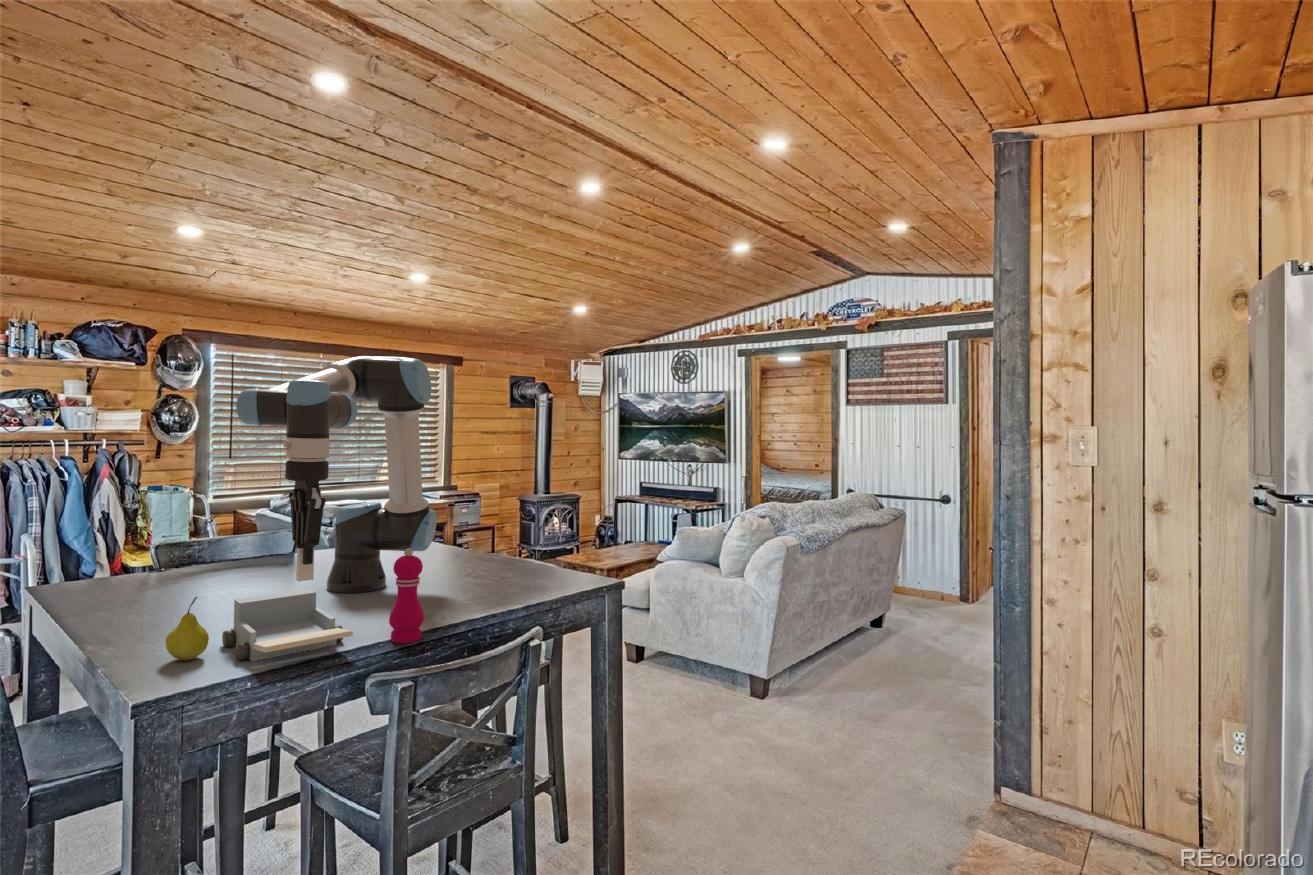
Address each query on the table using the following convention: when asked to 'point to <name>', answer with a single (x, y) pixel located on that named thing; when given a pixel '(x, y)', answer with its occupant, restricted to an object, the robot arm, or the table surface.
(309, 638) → the panel
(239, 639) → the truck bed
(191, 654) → the fruit
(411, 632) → the pepper mill
